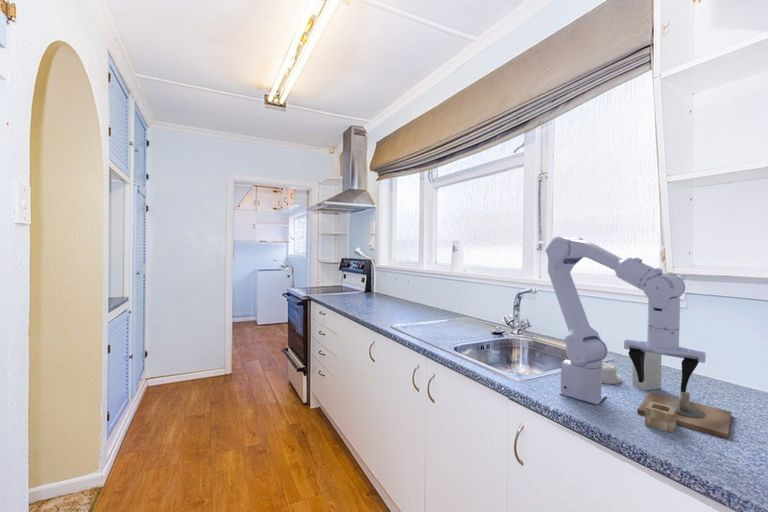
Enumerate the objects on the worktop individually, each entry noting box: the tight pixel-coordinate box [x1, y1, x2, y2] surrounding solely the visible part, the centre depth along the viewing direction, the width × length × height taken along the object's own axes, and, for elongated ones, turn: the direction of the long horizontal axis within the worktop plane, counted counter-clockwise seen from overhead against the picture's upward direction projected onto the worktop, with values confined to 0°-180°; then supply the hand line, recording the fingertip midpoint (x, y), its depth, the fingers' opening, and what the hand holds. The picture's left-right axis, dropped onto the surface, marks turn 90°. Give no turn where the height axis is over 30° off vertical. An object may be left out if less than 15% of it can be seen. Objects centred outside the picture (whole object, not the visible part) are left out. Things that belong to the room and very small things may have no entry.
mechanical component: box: [601, 361, 622, 385], centre depth 111 cm, size 10×4×10 cm
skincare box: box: [631, 352, 662, 392], centre depth 104 cm, size 6×4×12 cm
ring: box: [644, 401, 677, 434], centre depth 82 cm, size 5×5×4 cm
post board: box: [637, 390, 732, 440], centre depth 87 cm, size 16×15×6 cm
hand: (661, 386), depth 82 cm, fingers open, 7 cm apart
